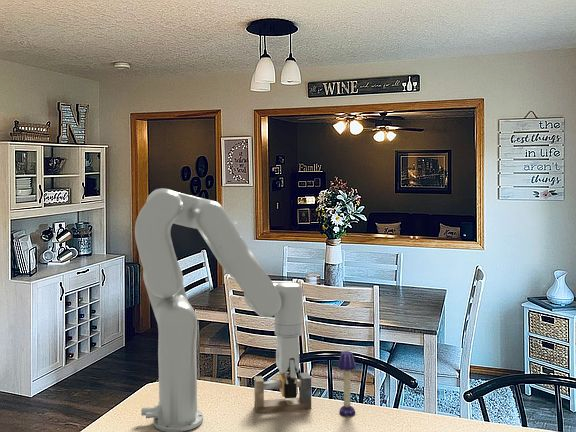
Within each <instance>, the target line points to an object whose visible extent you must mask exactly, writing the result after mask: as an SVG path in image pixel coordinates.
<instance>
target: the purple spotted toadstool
mask: <svg viewBox="0 0 576 432" xmlns="http://www.w3.org/2000/svg"><path fill="white" fill-rule="evenodd" d="M338 359H339V360H338V363H337V368H339V369H340V370H341V371H343V384H344V385H343V389H344V390H343V406H341V407H340V409H339V411H338V412H339V414H340V415H341V416H343V417H353V416H355V414H356V410H355V408H354V407H353V406H352V405H351V393H352V391H351V371H353V370H354V369H355V368H356V363H355V359H354V354H353V353H352V351H350V350H344V351H341V352H340V356H339V358H338Z"/></svg>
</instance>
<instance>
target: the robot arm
mask: <svg viewBox="0 0 576 432" xmlns="http://www.w3.org/2000/svg"><path fill="white" fill-rule="evenodd" d="M173 224H175V225H179V226H183V227H186V228H192V229H195V230H197V231H198V232H199V234H200V236H201V237H202V238H203V240H204V241H205V243H206V244H207V246H208V248H209V249H210V251H211V252H212V254H213V256H214V257H215V258H216V260H217V261H218V263H219V265H220V266H221V267H222V268H223V270H224V271H225V272H226V273H228V275H229V276H230V278H231V277H232V279H233V280H234V281H235V282H236V284H237V285H238V286H239V287H240V289H241V290H242V292H243V295H244V296H243V298H244V302H245V303H246V305H247V307H249V308H250V309H251V310H252V311H253V312H255V313H256V314H257V315H258V316H260V317H262V318H272V317H274V336H276V345H275V346H276V347H275V348H276V349H275V350H276V351H275V364H276V367H277V369H278V371H279V373H280V372H281V373H282V374H284V373H285V382H286V383H284V397H283V398H284V399H285V398H286V399H287V398H297V396H296V376H297V373H299V371H300V345H299V344H300V340H299V338H300V336H302V334H303V287H302V285H301V284H300V283H297V282H293V281H292V282H291V281H289V282H288V281H285V282H279V283H274V282H273V281H272V279H271V278H270V277H269V275H268V274H267V272H266V270H265V269H264V267H263V266H262V265H261V264H260V262H259V260H258V259H257V258H256V256H255V255H254V253H253V252H252V250H251V249H250V248H249V246H248V244H247V243H246V241H245V240H244V238H243V237H242V235H241V234H240V232H239V230H238V229H237V228H236V226H235V224H234V222H233V220H232V219H231V218H230V216H229V214H228V212H227V211H226V209H225V208H224V206H222V205H221V204H220V203H219V201H215V200H212V199H207V198H203V197H198V196H194V195H190V194H186V193H181V192H178V191H175V190H172V189H170V188H164V187H163V188H156V189H154V190H153V191H152V192H151V193H150V194H148V196H147V198H146V200H145V204H143V206H142V207H141V209H140V211H139V212H138V215H137V218H136V220H135V224H134V225H135V226H134V238H135V243H136V247H137V251H138V255H139V260H140V263H141V266H142V268H143V269H142V277H143V283H144V285H145V289H146V292H147V295H148V299H149V302H150V305H151V308H152V311H153V314H154V317H155V320H156V322H157V328H158V330H157V331H158V340H157V341H158V345H157V347H158V348H157V350H158V351H157V356H158V359H157V360H158V396H159V397H158V404H157V405H154V406H152V407H141V413H140V414H141V416H142V417H143V416H145V419H152V418H153V419H152V421H153V422H152V423H153V427H155V428H156V429H157V430H158V431H162V432H186V431H191V430H193V429H195V428H198V427H199V426H200V425H201V424H202V423H203V422H204V415H203V412H201V411H200V410H198V387H197V386H198V383H197V382H198V380H197V379H198V377H197V376H198V374H197V339H198V338H197V337H198V318H197V313H196V312H195V309H194V308H193V306H192V305H191V303H190V302H189V299H188V297H187V294H186V290H185V287H184V286H185V285H184V283H183V282H184V276H183V271H182V269H181V267H180V264H179V262H178V258H177V255H176V252H175V248H174V245H173V240H172V235H171V230H172V227H173ZM289 374H290V376H289V377H288V375H289Z"/></svg>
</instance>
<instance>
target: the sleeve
mask: <svg viewBox="0 0 576 432" xmlns="http://www.w3.org/2000/svg"><path fill="white" fill-rule="evenodd" d="M289 376H290V374H289V375H288V377H289ZM297 379H298V377H297V375H296V397H297V396H298V387H297ZM280 380H281V381H282V388H279V392H280V394H281V396H282V397H283V398H285V397H284V383H286V382H285V373H284V374H282V373H281V372H280V371H279V381H280Z"/></svg>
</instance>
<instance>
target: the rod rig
mask: <svg viewBox="0 0 576 432" xmlns="http://www.w3.org/2000/svg"><path fill="white" fill-rule="evenodd" d="M298 373H299V377H298V378H297V388H298V390H299V391H298V392H299V394H298V397H296V398H287V399H286V398H285V397H284V398H278V399H277V398H276V399H265V398H264V397H265V394H264V393H265V390H280V388H282V381H281V380H280V379H279V380H268V381H267V380H266V381H264V378H263V376H262V375H255V376H253V377H254V379H253V380H254V382H253V383H254V384H253V385H254V401H253V403H254V409H255V412H256V413H257V414H259V413H260V414H261V413H262V414H263V413H271V412H272V413H274V412H283V411H284V412H286V411H298V410H299V411H300V410H309V409H312V376H311V375H310V374H309V372H298Z"/></svg>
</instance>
